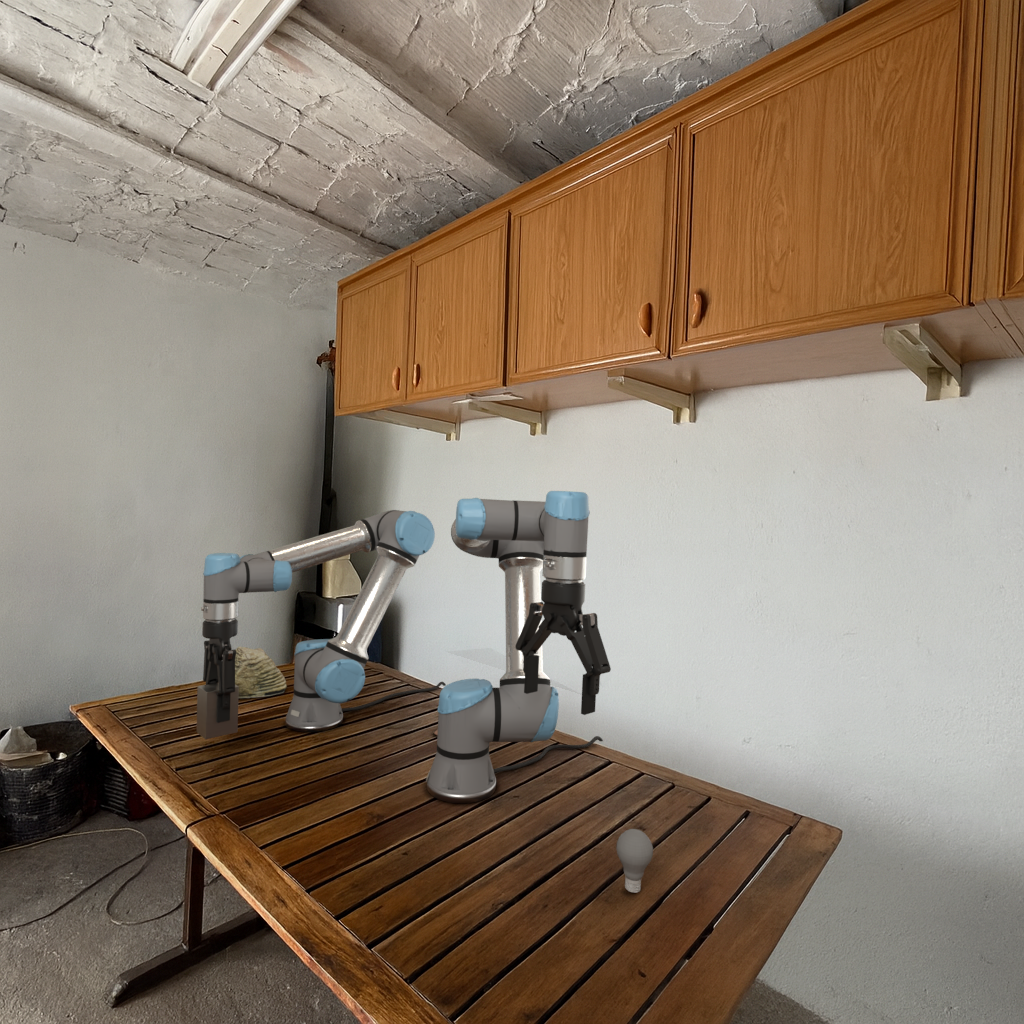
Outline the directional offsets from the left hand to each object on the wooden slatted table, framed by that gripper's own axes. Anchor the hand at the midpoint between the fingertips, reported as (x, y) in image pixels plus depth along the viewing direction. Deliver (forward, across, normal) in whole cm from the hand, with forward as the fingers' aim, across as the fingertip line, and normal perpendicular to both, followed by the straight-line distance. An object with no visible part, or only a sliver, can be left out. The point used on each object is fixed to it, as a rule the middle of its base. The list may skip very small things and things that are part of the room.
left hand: (217, 717), depth 149 cm
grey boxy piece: (+4, 0, 0) cm, 4 cm away
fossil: (+11, -42, +27) cm, 51 cm away
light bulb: (+11, +94, +33) cm, 100 cm away
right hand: (-19, +81, +27) cm, 88 cm away
